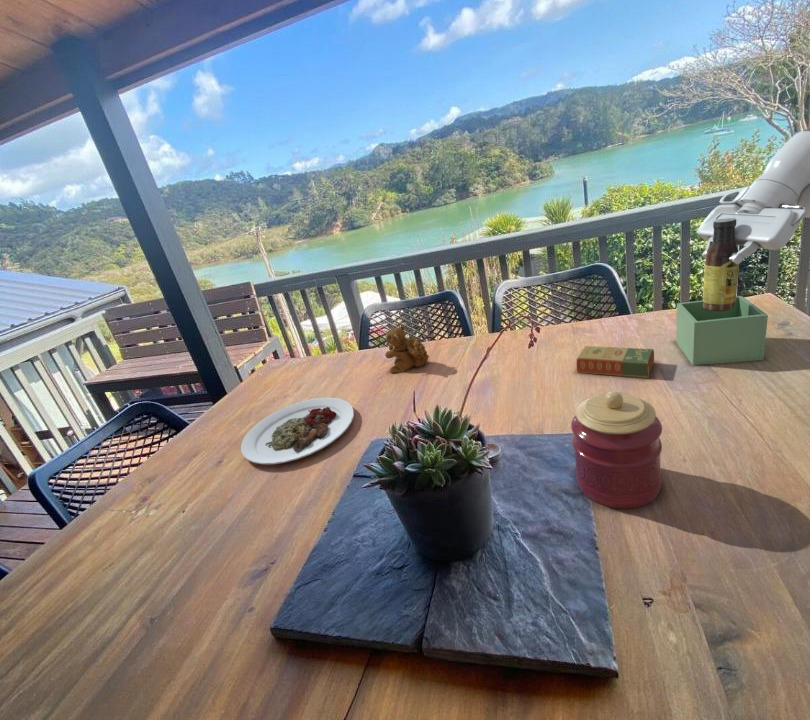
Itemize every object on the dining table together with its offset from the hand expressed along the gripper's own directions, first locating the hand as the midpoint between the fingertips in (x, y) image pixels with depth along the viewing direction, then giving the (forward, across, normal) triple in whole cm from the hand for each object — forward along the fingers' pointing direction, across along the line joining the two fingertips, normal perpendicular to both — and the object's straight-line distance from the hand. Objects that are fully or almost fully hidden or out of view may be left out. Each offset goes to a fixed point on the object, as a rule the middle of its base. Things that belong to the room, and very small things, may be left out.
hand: (718, 260), depth 96 cm
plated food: (+90, +15, +57) cm, 107 cm away
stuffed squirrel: (+66, +39, +33) cm, 83 cm away
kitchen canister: (+48, -32, +15) cm, 59 cm away
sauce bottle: (+8, 0, -9) cm, 12 cm away
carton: (+32, +4, 0) cm, 32 cm away
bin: (+15, 0, -16) cm, 22 cm away
